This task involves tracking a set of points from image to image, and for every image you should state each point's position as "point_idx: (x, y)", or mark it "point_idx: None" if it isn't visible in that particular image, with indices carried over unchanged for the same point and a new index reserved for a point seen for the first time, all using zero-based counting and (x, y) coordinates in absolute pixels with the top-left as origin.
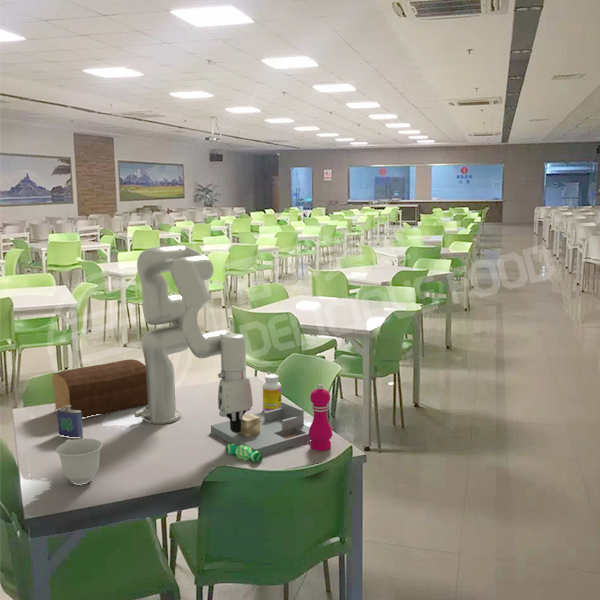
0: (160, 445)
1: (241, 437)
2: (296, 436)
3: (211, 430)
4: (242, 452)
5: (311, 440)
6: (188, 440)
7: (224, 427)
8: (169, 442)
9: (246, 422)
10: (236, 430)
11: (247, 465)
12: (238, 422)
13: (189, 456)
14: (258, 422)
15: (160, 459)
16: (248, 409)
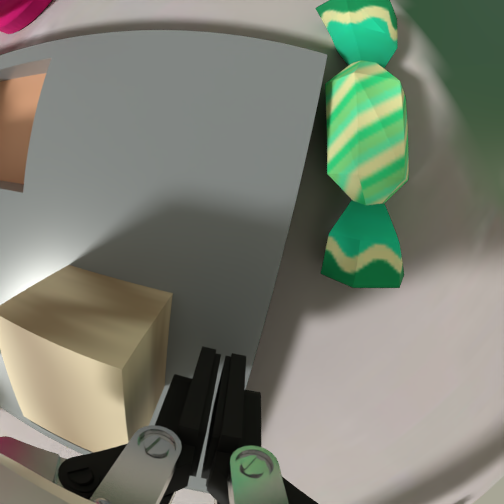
0: (402, 472)
1: (212, 313)
2: (9, 61)
3: None
4: (405, 114)
5: (16, 13)
6: (328, 470)
7: None
8: (372, 479)
9: (126, 360)
10: (242, 368)
11: (414, 57)
12: (205, 415)
13: (460, 363)
14: (27, 298)
15: (492, 394)
16: (20, 453)
